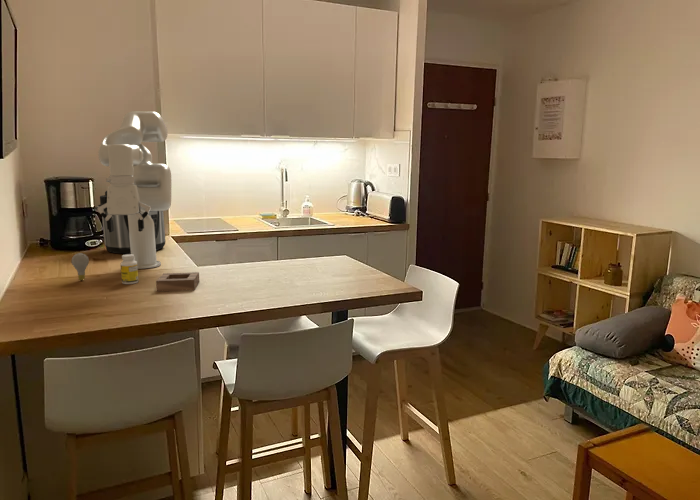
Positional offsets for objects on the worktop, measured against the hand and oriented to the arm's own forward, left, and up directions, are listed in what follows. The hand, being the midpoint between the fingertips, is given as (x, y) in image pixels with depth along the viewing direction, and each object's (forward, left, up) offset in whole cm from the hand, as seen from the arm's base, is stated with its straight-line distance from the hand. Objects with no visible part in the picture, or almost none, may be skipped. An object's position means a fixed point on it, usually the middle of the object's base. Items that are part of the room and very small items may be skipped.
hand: (126, 231), depth 190 cm
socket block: (+9, +18, -18) cm, 27 cm away
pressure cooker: (-72, -15, -18) cm, 76 cm away
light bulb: (-6, -18, -18) cm, 26 cm away
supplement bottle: (0, 0, -18) cm, 18 cm away
